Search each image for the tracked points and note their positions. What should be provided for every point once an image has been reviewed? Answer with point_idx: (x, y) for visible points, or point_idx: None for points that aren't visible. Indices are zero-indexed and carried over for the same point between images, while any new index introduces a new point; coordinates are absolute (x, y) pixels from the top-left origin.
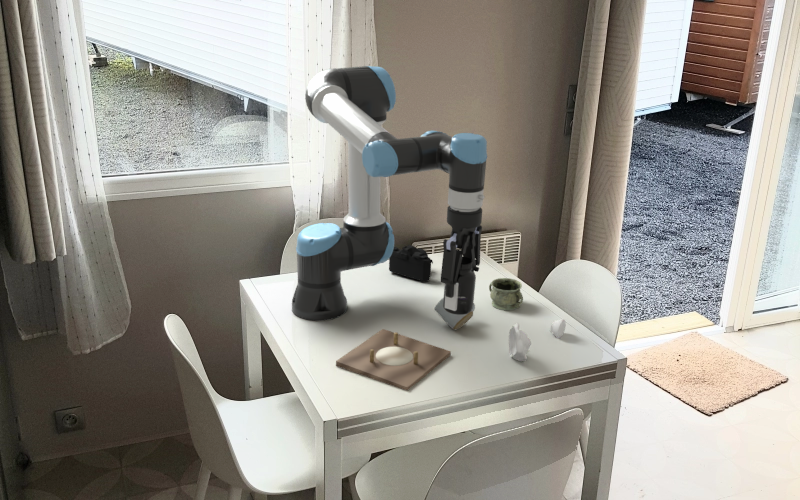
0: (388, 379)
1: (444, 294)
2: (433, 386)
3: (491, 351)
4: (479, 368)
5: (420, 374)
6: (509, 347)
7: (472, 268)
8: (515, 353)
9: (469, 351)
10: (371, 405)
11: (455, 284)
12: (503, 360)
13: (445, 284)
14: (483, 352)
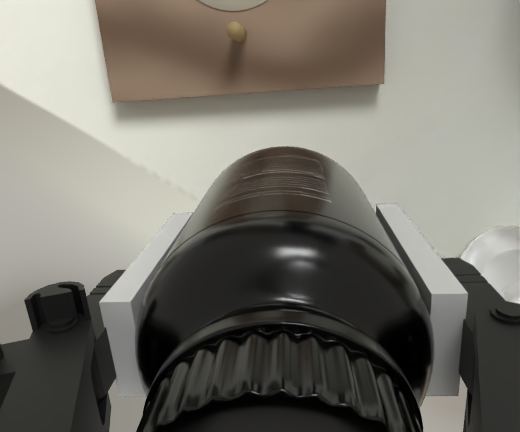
0: (103, 25)
1: (203, 199)
2: (199, 139)
3: (487, 169)
4: (368, 191)
5: (195, 90)
6: (509, 227)
7: (466, 407)
8: (492, 249)
9: (448, 113)
10: (4, 57)
11: (119, 381)
12: (452, 224)
13: (181, 233)
14: (467, 153)
